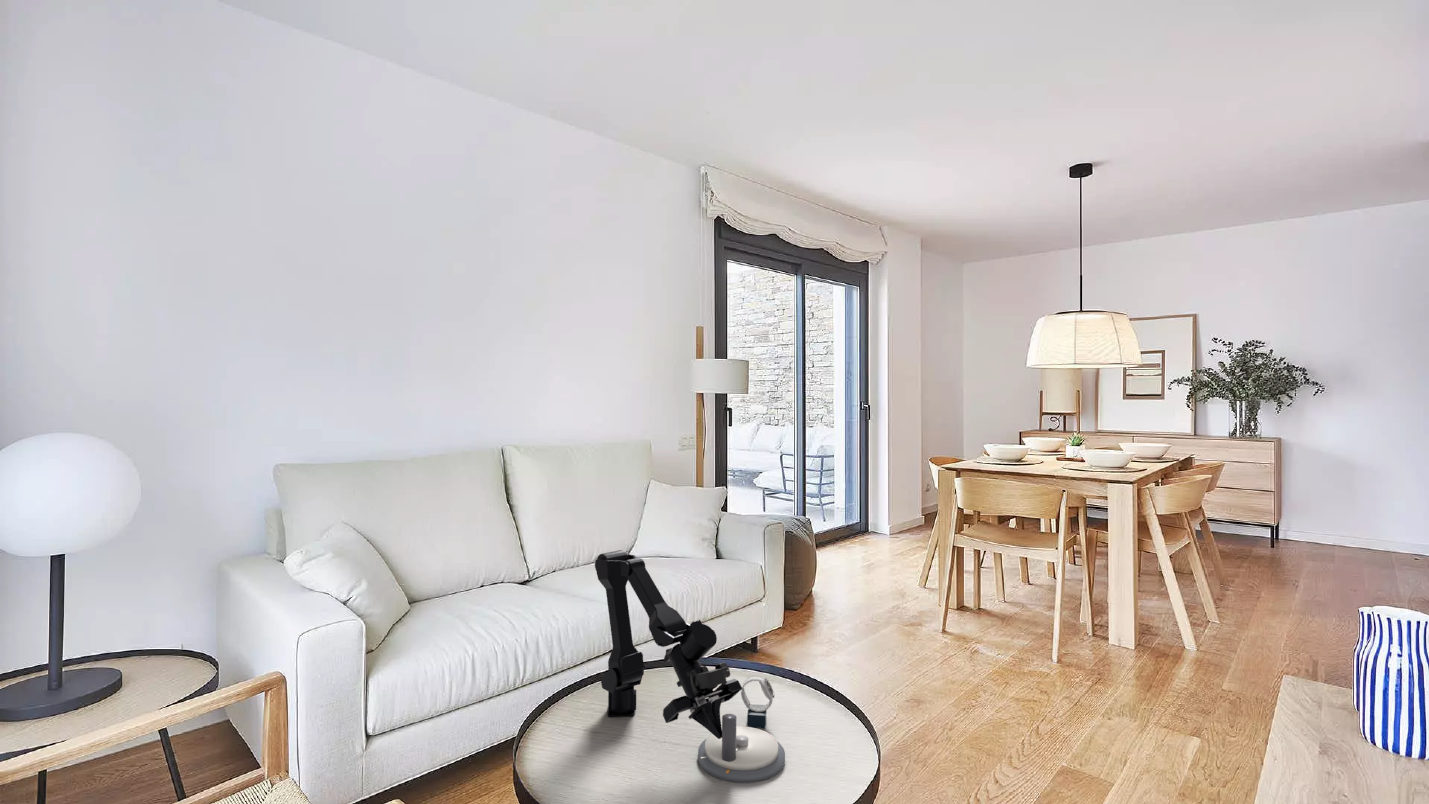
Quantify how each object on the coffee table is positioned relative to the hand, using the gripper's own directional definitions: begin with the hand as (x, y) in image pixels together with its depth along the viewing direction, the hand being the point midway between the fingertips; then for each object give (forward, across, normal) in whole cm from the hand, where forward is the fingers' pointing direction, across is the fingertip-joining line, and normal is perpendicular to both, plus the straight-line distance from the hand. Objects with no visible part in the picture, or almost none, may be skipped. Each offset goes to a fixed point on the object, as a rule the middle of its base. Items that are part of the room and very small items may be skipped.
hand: (720, 738), depth 155 cm
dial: (+3, +7, +4) cm, 9 cm away
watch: (-2, +22, +12) cm, 25 cm away
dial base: (+4, +7, +6) cm, 10 cm away
